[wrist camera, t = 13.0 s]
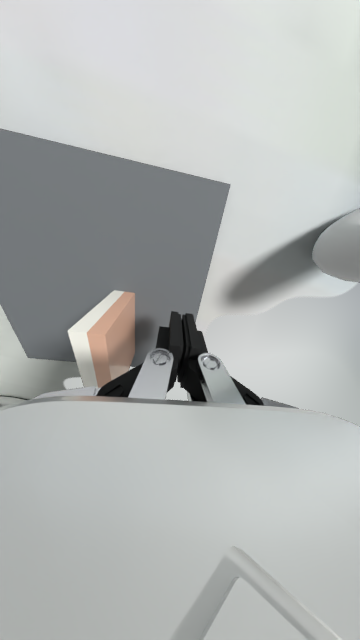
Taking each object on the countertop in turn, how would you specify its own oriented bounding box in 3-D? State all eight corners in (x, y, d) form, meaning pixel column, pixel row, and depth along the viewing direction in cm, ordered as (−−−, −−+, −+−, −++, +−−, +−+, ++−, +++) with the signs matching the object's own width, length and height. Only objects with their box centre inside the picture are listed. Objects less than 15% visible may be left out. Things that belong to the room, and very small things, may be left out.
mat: (182, 367, 21) (183, 370, 20) (32, 354, 18) (28, 357, 18) (227, 186, 11) (230, 184, 10) (-87, 111, 8) (-104, 103, 8)
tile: (134, 352, 18) (114, 410, 12) (118, 350, 18) (90, 409, 12) (134, 292, 14) (105, 334, 8) (114, 290, 14) (67, 330, 8)
